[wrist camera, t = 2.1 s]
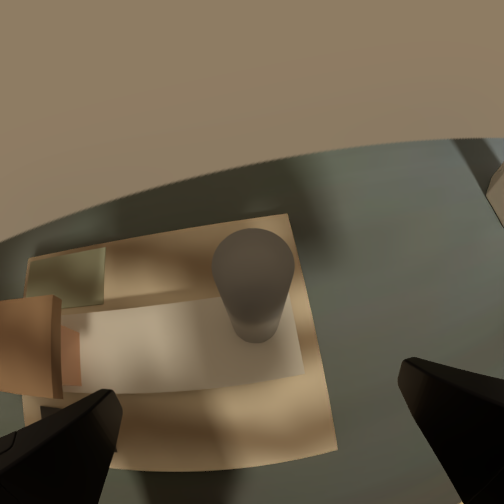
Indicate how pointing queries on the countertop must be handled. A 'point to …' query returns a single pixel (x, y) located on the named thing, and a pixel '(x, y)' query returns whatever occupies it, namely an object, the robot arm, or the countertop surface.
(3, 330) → the tunnel
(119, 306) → the board
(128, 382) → the knobbed beige slab
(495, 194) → the jar
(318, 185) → the countertop surface
